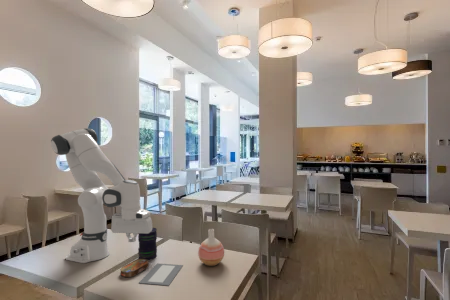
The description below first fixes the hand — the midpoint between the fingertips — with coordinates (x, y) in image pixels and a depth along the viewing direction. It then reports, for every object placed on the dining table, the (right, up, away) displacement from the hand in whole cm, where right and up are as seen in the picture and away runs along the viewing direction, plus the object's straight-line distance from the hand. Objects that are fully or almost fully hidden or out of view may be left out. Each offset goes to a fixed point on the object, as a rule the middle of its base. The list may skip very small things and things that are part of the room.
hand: (132, 241), depth 119 cm
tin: (+5, -14, -1) cm, 14 cm away
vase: (+38, -15, +8) cm, 42 cm away
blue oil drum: (+2, -15, +17) cm, 23 cm away
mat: (+15, -15, -2) cm, 21 cm away
